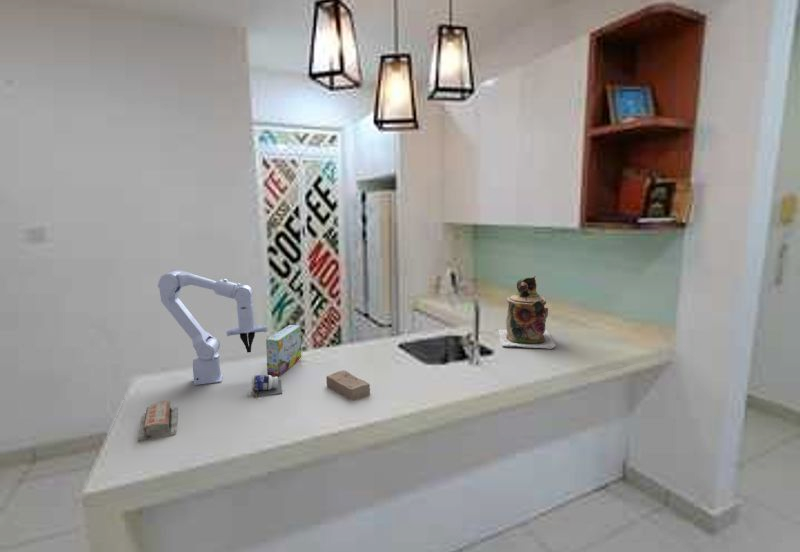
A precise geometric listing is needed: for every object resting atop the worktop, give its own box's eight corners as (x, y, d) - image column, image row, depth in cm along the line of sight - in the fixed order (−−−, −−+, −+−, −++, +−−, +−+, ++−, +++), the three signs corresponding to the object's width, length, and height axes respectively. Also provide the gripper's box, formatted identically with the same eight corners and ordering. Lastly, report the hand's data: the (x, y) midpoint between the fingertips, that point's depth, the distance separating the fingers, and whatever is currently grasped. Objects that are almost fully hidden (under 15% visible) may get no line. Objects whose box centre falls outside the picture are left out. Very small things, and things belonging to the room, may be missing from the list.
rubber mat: (258, 396, 158) (258, 395, 158) (258, 383, 169) (258, 382, 169) (282, 393, 160) (282, 392, 160) (280, 380, 171) (280, 379, 171)
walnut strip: (254, 397, 157) (254, 395, 157) (254, 383, 169) (254, 381, 169) (257, 397, 158) (257, 394, 158) (257, 383, 169) (257, 381, 169)
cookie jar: (497, 332, 231) (499, 270, 225) (547, 333, 228) (550, 271, 222) (501, 348, 207) (504, 279, 201) (557, 350, 204) (561, 280, 198)
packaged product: (175, 420, 132) (136, 428, 128) (177, 436, 133) (138, 444, 129) (176, 396, 148) (142, 402, 144) (178, 410, 149) (143, 416, 145)
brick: (371, 394, 160) (371, 382, 159) (352, 401, 154) (352, 388, 154) (344, 380, 172) (343, 369, 171) (325, 387, 166) (325, 375, 166)
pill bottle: (252, 372, 162) (277, 371, 165) (251, 384, 164) (276, 383, 167) (251, 381, 157) (278, 380, 160) (251, 393, 160) (277, 392, 162)
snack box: (280, 377, 175) (278, 340, 172) (266, 376, 176) (264, 339, 173) (302, 358, 195) (301, 324, 192) (290, 357, 196) (288, 323, 193)
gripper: (224, 322, 165) (228, 357, 167) (266, 317, 169) (268, 352, 171) (226, 317, 171) (229, 351, 174) (265, 313, 175) (268, 346, 178)
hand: (249, 351), depth 173 cm, fingers closed
